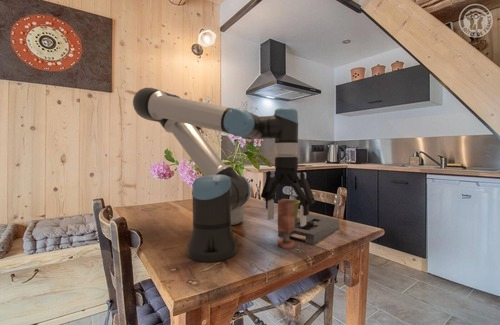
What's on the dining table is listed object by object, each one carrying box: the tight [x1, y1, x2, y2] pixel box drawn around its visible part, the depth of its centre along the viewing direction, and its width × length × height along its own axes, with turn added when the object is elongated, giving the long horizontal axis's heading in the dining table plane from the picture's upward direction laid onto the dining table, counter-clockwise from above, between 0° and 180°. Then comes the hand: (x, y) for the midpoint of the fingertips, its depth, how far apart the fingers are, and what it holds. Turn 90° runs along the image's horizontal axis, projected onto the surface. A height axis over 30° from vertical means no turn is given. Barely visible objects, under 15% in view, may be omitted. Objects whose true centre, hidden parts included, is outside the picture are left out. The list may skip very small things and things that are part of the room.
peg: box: [277, 198, 296, 250], centre depth 80 cm, size 6×6×15 cm
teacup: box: [231, 204, 245, 226], centre depth 108 cm, size 14×11×8 cm
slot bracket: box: [277, 214, 340, 246], centre depth 94 cm, size 14×24×3 cm, turn 140°
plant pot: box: [289, 198, 301, 220], centre depth 112 cm, size 9×9×9 cm
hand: (286, 222), depth 80 cm, fingers open, 12 cm apart
